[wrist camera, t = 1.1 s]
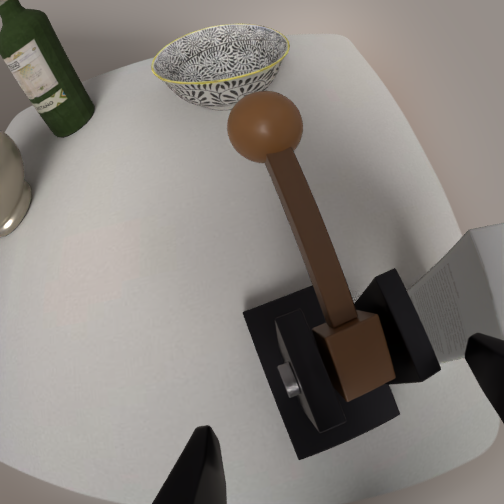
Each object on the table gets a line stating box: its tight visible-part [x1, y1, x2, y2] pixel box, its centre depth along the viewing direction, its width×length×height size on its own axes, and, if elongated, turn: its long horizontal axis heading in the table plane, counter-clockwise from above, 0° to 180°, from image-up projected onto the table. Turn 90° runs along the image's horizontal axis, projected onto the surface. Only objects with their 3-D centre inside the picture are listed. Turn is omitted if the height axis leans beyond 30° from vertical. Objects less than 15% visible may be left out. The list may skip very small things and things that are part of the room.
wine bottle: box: [0, 0, 94, 137], centre depth 25 cm, size 8×8×30 cm
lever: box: [227, 91, 396, 402], centre depth 12 cm, size 13×3×3 cm, turn 20°
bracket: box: [243, 268, 441, 460], centre depth 15 cm, size 12×8×13 cm, turn 20°
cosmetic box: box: [407, 223, 504, 364], centre depth 16 cm, size 6×4×12 cm
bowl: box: [151, 24, 290, 110], centre depth 32 cm, size 16×16×8 cm
